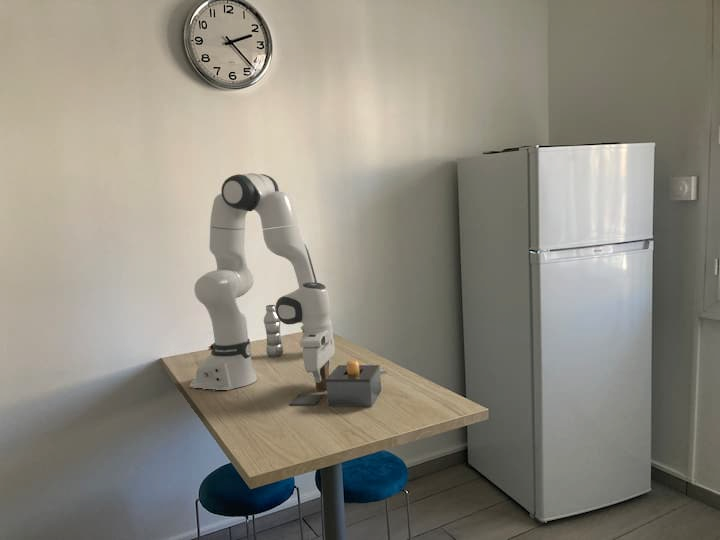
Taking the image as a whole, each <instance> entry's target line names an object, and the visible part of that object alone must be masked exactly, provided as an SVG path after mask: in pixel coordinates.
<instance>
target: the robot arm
mask: <svg viewBox="0 0 720 540" xmlns="http://www.w3.org/2000/svg"><path fill="white" fill-rule="evenodd" d="M220 190H221V193H220V194H217V195H216V196H215V197H214V199H213V202H212V208H211V214H210V222H209V251H210V252H211V254H212V255H214V258H215V263H216V269H215V270H212V271H211V270H210V271H209V272H207V273H205V274H203V275H202V276H201V277H200V278H198V279H197V280H196V282H195V284H194V289H193V291H194V294H195V295H194V296H195V297H196V299H197V300H198V302H200V303H201V304H202V305H203V306H205V308H206V311H207V313H208V315H209V317H210V321H211V324H212V325H211V326H212V332H213V338H214V342H213V343H212V344H210V346H208V347H207V349H208V350H207V351H210V353H211V354H209V356H207V357H206V358H205V359H204V360H203V361H202V362H201V363H200V364H199V365H198V367H197V368H196V372H195V379H193V380H192V381H191V382H190V384H189V388H190V387H196V388H206V389H216V390H227V391H231V390H234V389H237V388H243V387H246V386H249V385H252V384H253V383H255V382H256V381H257V380H258V375H257V373H256V371H255V369H254V365H253V362H252V348H251V342H250V339H249V335H248V325H247V319H246V318H247V317H246V316H245V314H244V313H242V312H241V310H240V309H239V306H238V304H237V299H238V298H240V297H243V296H244V295H245V294H247V293H248V292H249V291H250V290H251V289H252V287H253V285H254V275H253V273H252V271H251V270H250V269H249V267H248V264H247V259H246V254H245V253H246V252H245V229H246V215H247V213H248V212H252V211H255V212H256V213H258V216H259V219H260V223H261V229H262V236H263V240H264V243H265V246H266V247H267V249H268V250H269V251H270V252H271V253H273V254H274V255H276V256H279V257H282V258H284V259H287V260H288V261H289V262H290V263H291V265H292V267H293V269H294V273H295V277H296V280H297V281H296V282H297V284H298V289H296V290H294V291H292V292H290V293H287V294H285V295H282V296H281V297H279V298H278V299H277V301H276V304H275V307H276V308H275V309H276V310H275V311H276V314H277V317H278V318H279V320H280V323H282V324H285V325H296V324H298V323H301V324H302V326H304V332H303V331H302V334H303V335H302V337H301V339H300V341H299V342H300V347H301V348H302V359H303V366H304V369H305V372H306V373H312V376H313V378H314V382H316V383H320V382H321V381H322V379H321V378H322V377H321V376H320V369H321V368H322V367H323V365H324V364H325V363H328V369H329V373H330V372H331V368H330V367H331V362H332V361H331V358H332V357H333V356H334V355H335V353H336V347H335V340H334V334H333V333H334V332H333V323H332V319H331V312H332V311H331V302H330V301H331V300H330V296H329V292H328V289H327V287H326V285H325V284H323V283H320V282H318V281H317V277H316V274H315V273H316V272H315V271H314V266H313V263H312V259H311V255H310V253H309V249H308V248H307V245H306V244H305V243H304V241H303V239H302V236H301V234H300V230H299V225H298V221H297V220H298V219H297V216H296V211H295V209H294V205H293V201H292V199H291V197H290V195H289V194H287V193H286V192H283V191H279V190H280V188H279V185H278V183H277V181H276V180H275V179H274V178H273V177H271V176H269V175H268V174H263V173H261V174H260V173H251V172H250V173H245V174H239V173H238V174H234V175H231V176H229V177H228V178H226V179H225V180H224V182H223V183H222V185H221V189H220ZM316 383H315V384H316Z"/></svg>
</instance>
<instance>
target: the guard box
mask: <svg viewBox="0 0 720 540" xmlns="http://www.w3.org/2000/svg"><path fill="white" fill-rule="evenodd" d="M380 366H381V365H380V364H377V365H375V364H374V365H372V364H370V365H368V364H367V365H366V364H365V365H363V364H361V365H360V364H359V372H360V375H347V364H344V365H342V364H341V365H340V364H339V365H337V366H336V367H335V368H334V369H333V371H332V372H331V373H329V376H328V377H327V379H326V387H327V391H326V394H327V398H326V399H327V406H328V407H361V406H363V408H364V407H366V408H368V407H369V408H370V407H373V406H374V404H375V402H376V400H377V399H378V397H379V396H380V394H381V392H382V382H381V380H382V379H381V374H380Z"/></svg>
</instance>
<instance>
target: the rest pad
mask: <svg viewBox="0 0 720 540" xmlns="http://www.w3.org/2000/svg"><path fill="white" fill-rule="evenodd" d="M323 397H324V394H323V393H322V394H321V393H316V394H315V393H307V394H306V393H298V394H297V395H296V396H295V397H294V398H293V399H292V400H291V401H290V402H289V403H288V405H289V406H300V407H301V406H302V407H303V406H304V407H305V406H310V407H312V406H316V405H317V404H318V403H319V402H320V401H321V399H323Z"/></svg>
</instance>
